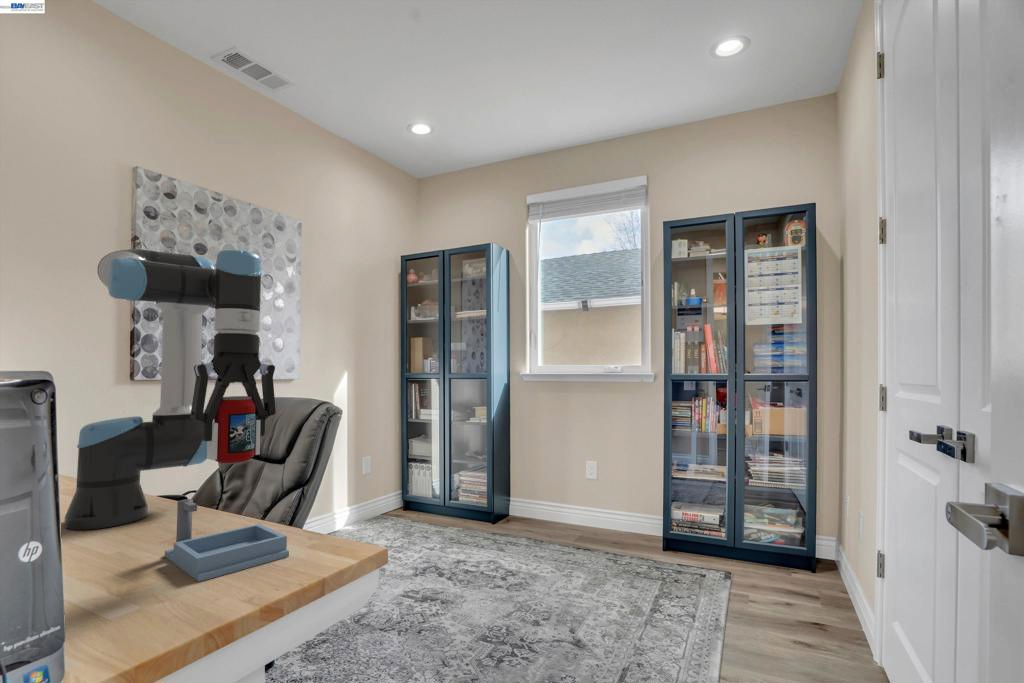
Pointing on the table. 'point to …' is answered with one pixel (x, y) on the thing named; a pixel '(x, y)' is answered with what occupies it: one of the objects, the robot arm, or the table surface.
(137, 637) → the table surface
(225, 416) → the beverage can
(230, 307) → the robot arm
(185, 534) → the light blue hollow tray
